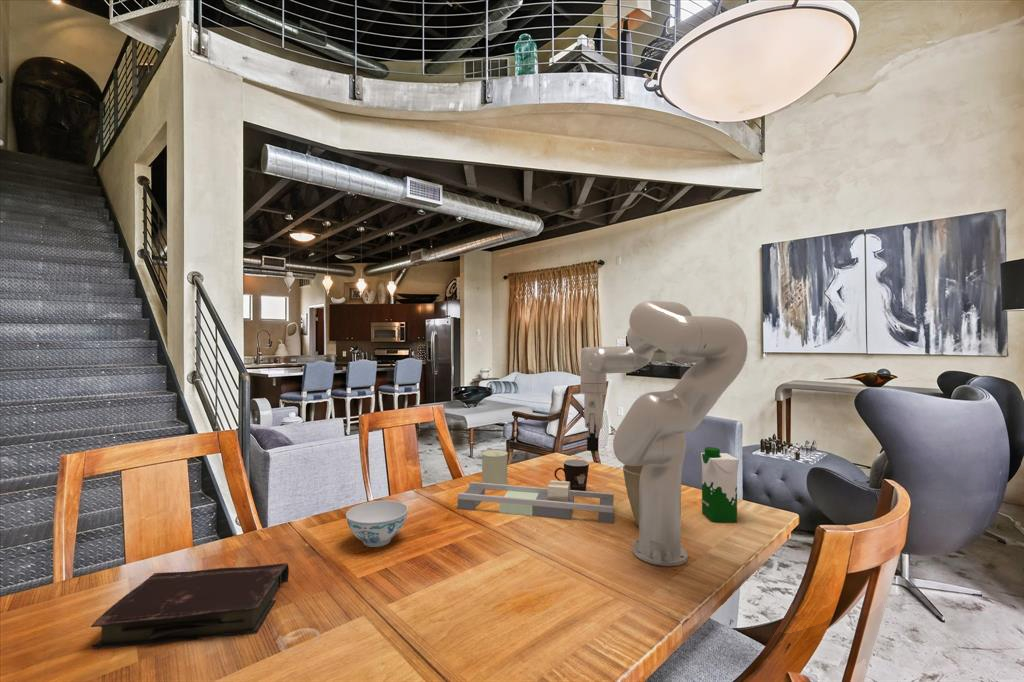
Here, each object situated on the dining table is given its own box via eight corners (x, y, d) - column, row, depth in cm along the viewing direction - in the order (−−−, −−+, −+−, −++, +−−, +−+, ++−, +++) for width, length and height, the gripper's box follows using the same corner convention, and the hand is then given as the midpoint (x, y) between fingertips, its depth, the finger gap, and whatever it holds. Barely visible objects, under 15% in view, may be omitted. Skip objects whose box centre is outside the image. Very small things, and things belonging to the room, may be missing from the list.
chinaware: (332, 546, 111) (332, 515, 111) (376, 525, 124) (377, 496, 124) (377, 560, 104) (378, 527, 104) (419, 536, 117) (420, 506, 117)
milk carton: (697, 511, 135) (698, 445, 135) (728, 512, 135) (728, 445, 135) (709, 523, 127) (710, 452, 127) (742, 524, 126) (742, 452, 126)
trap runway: (613, 523, 126) (613, 507, 126) (457, 508, 137) (457, 493, 137) (613, 508, 138) (613, 493, 138) (470, 495, 148) (470, 481, 148)
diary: (156, 594, 91) (156, 569, 91) (288, 583, 95) (289, 559, 95) (86, 656, 73) (87, 625, 73) (254, 639, 77) (255, 609, 77)
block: (567, 504, 132) (567, 487, 132) (547, 503, 133) (547, 486, 133) (569, 498, 138) (570, 481, 138) (550, 496, 139) (550, 480, 139)
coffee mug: (588, 488, 156) (588, 459, 156) (589, 496, 148) (590, 466, 148) (554, 487, 158) (554, 458, 158) (554, 495, 149) (554, 465, 149)
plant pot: (671, 516, 131) (671, 462, 131) (685, 538, 117) (685, 477, 117) (619, 514, 133) (619, 460, 133) (626, 535, 118) (627, 475, 118)
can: (488, 491, 153) (488, 456, 153) (477, 483, 161) (477, 450, 161) (512, 487, 157) (512, 453, 157) (500, 480, 165) (500, 447, 165)
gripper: (605, 391, 125) (604, 457, 125) (606, 386, 140) (606, 445, 140) (578, 390, 127) (577, 455, 127) (582, 385, 142) (581, 444, 142)
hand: (592, 450), depth 133 cm, fingers closed
